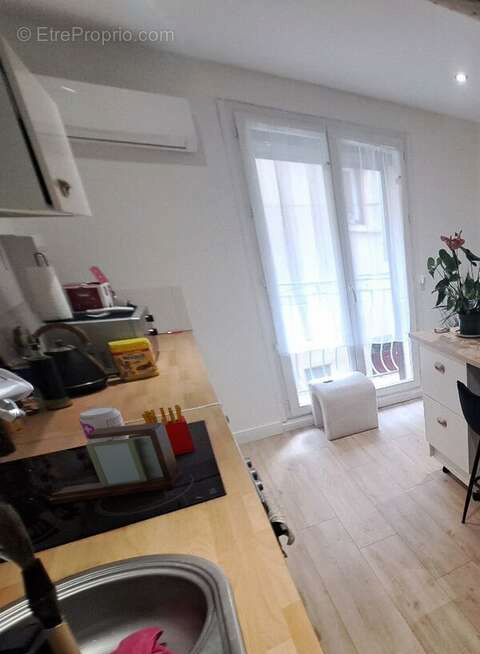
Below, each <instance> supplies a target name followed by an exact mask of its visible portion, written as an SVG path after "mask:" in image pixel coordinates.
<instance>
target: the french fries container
mask: <svg viewBox="0 0 480 654" xmlns="http://www.w3.org/2000/svg"><path fill="white" fill-rule="evenodd" d="M158 409H159V411H160V415H161V419H160V420H161V421H160V423H164V425H165V428H166V431H167V434H168V438H169V441H170V444H171V447H172V450H173V453H174V456H175V457H176V456H179V455H184V454H187V453H191V452H195V451H196V447H195V445H194V442H193V439H192V435H191V431H190V428H189V426H188V421H187V419H186V417H185V416H184V415H182V407H181V406H180V404H175V405H174V409H175V414H176V418H175V414H174V411H173V409H172V407H171V406H170V407H167V411H168V414H169V418H170V420H169V419H168V417H167V414H166V411H165V407H163V406H162V407H159V408H158ZM141 417H142V418H143V420H144V421H145V423H143V424H149V423H159V420H158V416H157V415H156V412H155V410H154V409H150V410H145V411H144V412H143V413H142V414H141ZM146 436H150V435H149V433H146Z"/></svg>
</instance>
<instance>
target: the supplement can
mask: <svg viewBox="0 0 480 654" xmlns="http://www.w3.org/2000/svg"><path fill="white" fill-rule="evenodd" d="M78 421H79V423H80V426H81V429H82V431H83V433H84V436H85V439H86V441H87V443H95V442H104V441H107V440H109V439H113V440H118V439H128V438H130V437H129V436H130V435H127V436H117V437H107V438H98V439H89V438H88V436H87V435H88V434H90V433H91V432H93V431H94V430H95V429H98V428H108V427H119V426H126V425H125V421H124V419H123V418H122V414H121V412H120V411H119V410H118V409H116V407H114V406H98V407H94V408H90V409H89V408H88V409H87V410H83V411H82V412H80V415H79V419H78Z"/></svg>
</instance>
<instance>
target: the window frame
mask: <svg viewBox="0 0 480 654" xmlns="http://www.w3.org/2000/svg"><path fill="white" fill-rule="evenodd" d="M147 433H149V435H150V436H148V435H147ZM127 435H128V436H135V435H146V436H138V437H137V436H136V437H129V438H128V439H132V438H134V440H135V443H136V445H137V448H138V451H139V454H140V457H141V460H142V462H143V465H144V468H145V471H146V474H147V477H148V481H141V482H133V483H126V484H119V485H111V486H104V487H102V484H101V482H100V481H99V482H94V483H86V484H79V485H77V484H76V485H70V486H65V487H63V488H62V489H61V490H59V491H58V492H53V493H51V494H50V496H51V497H50V499H49V503H50V505H51V506H53V505H62V504H68V503H74V502H73V501H75V502H79V501H78V500H82V501H87V500H86V499H89V500H95V499H94V498H96V499H101V498H100V497H103V498H110V497H117V496H124V495H131V494H137V493H144V492H145V493H146V492H151V491H159V490H165V489H172V488H174V487H175V486H176V484H177V483H178V482H179V481H180V479H181V478H182V472H181V471H180V469H179V466H178V463H177V460H176V456H174V453H173V450H172V447H171V444H170V441H169V438H168V434H167V431H166V428H165V425H164V423H161V422H158V423H149V424H144V423H139V424H131V425H125V426H119V427H108V428H98V429H95V430H94V431H93V432H91V433H90V434H88V435H87V436H88V438H89V439H98V438H107V437H117V436H127ZM118 440H123V439H118ZM107 441H114V440H113V439H109V440H107ZM109 496H110V497H109Z"/></svg>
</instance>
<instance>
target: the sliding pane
mask: <svg viewBox="0 0 480 654" xmlns="http://www.w3.org/2000/svg"><path fill="white" fill-rule="evenodd" d="M131 438H132V439H123V440H114V441H104V442H95V443H88V442H87V443H86V444H85V446H86V450H87V452H88V455H89V456H90V459H91V462H92V465H93V467H94V470H95V472H96V474H97V476H98V480H99V483H100V482H101V484H102V487H104V486H111V485H119V484H126V483H133V482H141V481H148V477H147V474H146V471H145V468H144V465H143V462H142V460H141V457H140V454H139V451H138V448H137V445H136V443H135V440H134V438H135V437H131Z"/></svg>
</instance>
